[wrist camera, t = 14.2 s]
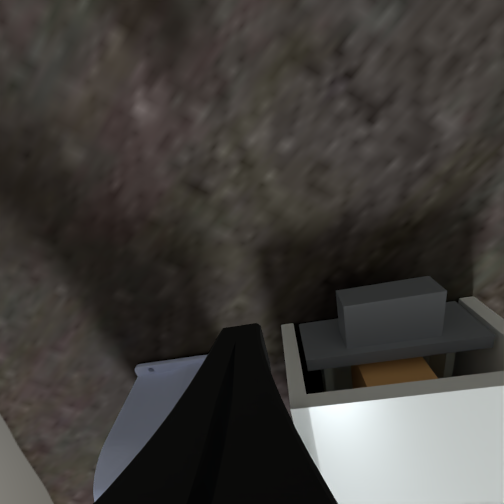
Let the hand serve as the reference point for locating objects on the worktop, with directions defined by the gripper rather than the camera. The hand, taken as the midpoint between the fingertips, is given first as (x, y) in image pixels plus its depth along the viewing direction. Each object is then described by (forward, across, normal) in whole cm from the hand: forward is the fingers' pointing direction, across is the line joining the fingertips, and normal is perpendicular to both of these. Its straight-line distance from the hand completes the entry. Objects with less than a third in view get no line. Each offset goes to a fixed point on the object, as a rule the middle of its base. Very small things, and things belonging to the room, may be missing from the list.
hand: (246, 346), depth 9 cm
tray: (+9, -8, +11) cm, 17 cm away
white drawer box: (+9, -8, +14) cm, 18 cm away
